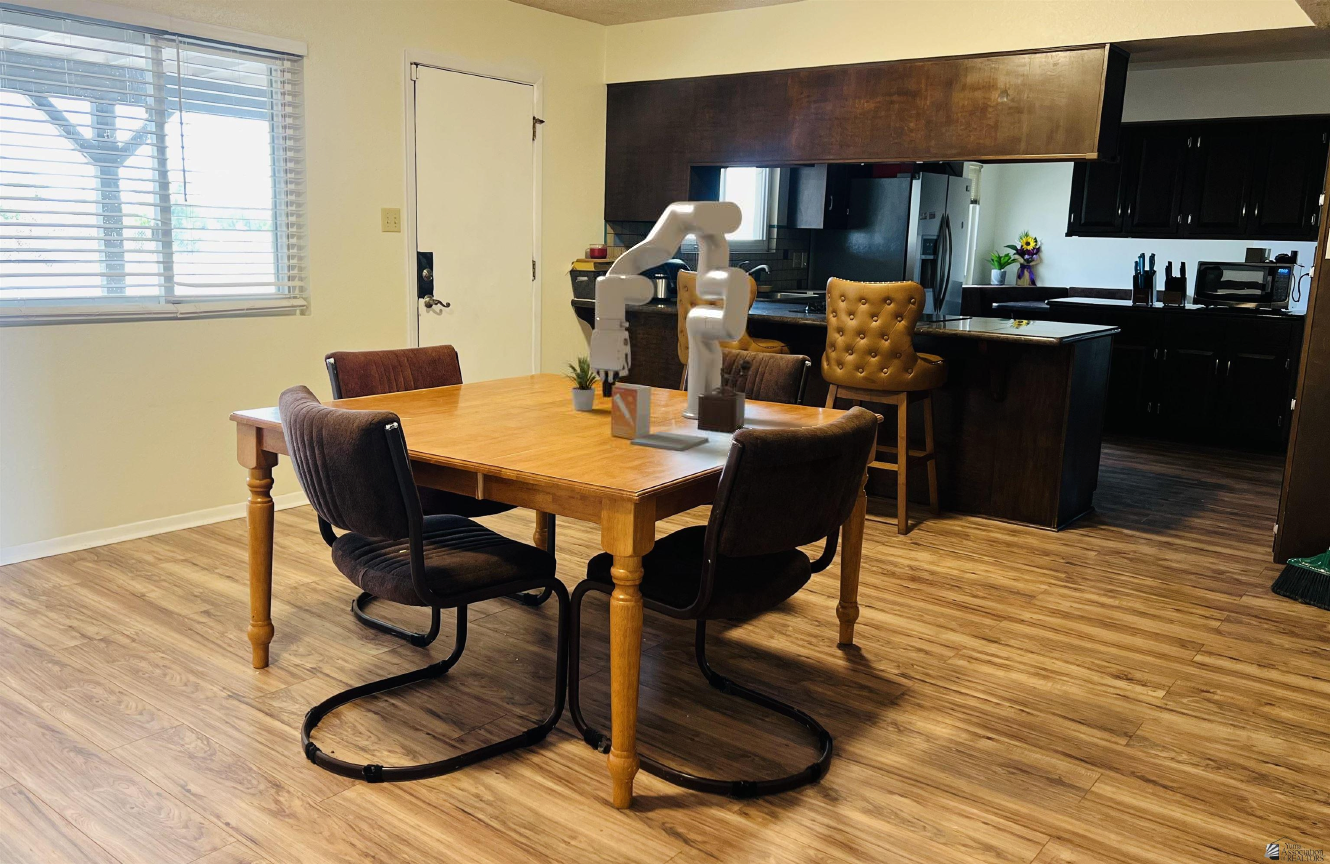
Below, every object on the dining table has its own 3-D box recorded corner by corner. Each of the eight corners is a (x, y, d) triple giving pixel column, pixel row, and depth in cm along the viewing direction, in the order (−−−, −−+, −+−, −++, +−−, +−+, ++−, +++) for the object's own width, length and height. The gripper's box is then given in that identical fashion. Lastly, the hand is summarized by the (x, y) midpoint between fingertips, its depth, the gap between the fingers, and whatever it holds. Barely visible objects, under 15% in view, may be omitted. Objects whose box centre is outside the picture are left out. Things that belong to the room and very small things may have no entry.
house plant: (549, 406, 303) (549, 351, 300) (593, 403, 309) (594, 350, 306) (565, 414, 290) (566, 356, 287) (610, 411, 296) (611, 355, 293)
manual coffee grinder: (735, 433, 269) (738, 365, 265) (696, 429, 273) (698, 362, 269) (752, 424, 283) (755, 359, 280) (714, 420, 287) (717, 356, 284)
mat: (659, 434, 264) (659, 431, 264) (708, 441, 258) (708, 437, 258) (630, 444, 251) (630, 440, 251) (680, 451, 245) (680, 447, 245)
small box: (610, 436, 261) (611, 385, 258) (624, 432, 266) (625, 383, 263) (636, 440, 256) (637, 389, 254) (650, 436, 261) (651, 386, 259)
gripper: (642, 326, 259) (641, 397, 262) (593, 322, 266) (592, 392, 269) (627, 328, 252) (626, 401, 256) (577, 324, 259) (576, 395, 263)
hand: (608, 396), depth 262 cm, fingers closed
